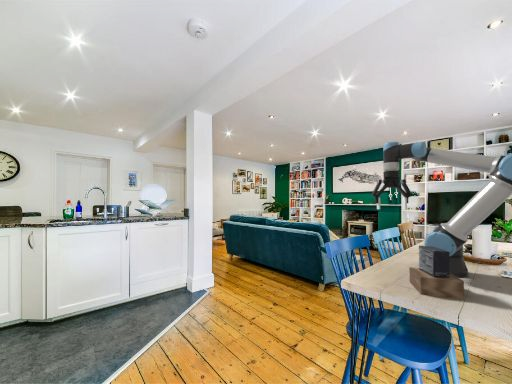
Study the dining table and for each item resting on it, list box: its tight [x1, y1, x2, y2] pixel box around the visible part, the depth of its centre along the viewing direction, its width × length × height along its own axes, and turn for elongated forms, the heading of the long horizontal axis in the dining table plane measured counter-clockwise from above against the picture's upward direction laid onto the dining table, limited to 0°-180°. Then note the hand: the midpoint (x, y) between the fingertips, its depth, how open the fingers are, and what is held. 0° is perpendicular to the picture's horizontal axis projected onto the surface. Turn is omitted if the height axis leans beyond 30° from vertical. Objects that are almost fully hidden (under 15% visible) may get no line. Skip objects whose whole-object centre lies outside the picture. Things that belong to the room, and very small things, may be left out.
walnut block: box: [408, 266, 465, 300], centre depth 97 cm, size 14×14×7 cm
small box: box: [418, 245, 450, 277], centre depth 97 cm, size 11×6×10 cm, turn 173°
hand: (391, 209), depth 128 cm, fingers open, 13 cm apart
